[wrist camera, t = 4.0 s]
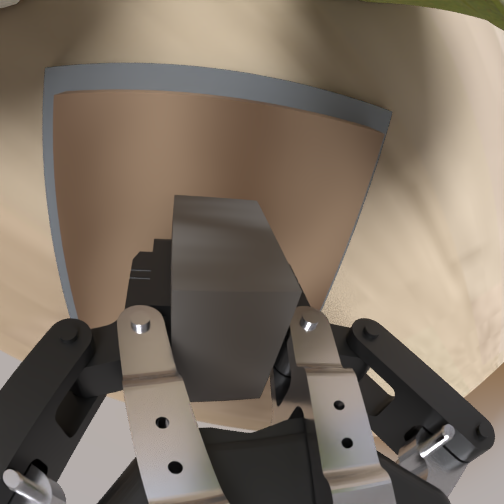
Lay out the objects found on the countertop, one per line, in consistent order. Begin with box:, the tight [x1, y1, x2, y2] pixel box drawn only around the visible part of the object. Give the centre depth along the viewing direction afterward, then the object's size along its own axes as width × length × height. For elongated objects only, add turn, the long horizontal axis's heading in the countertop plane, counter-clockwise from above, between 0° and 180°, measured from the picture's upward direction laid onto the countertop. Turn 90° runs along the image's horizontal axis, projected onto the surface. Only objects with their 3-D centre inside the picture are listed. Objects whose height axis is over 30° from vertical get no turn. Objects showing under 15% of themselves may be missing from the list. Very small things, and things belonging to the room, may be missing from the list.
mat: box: [43, 63, 392, 319], centre depth 13 cm, size 14×14×1 cm
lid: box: [53, 89, 385, 402], centre depth 11 cm, size 12×12×6 cm
